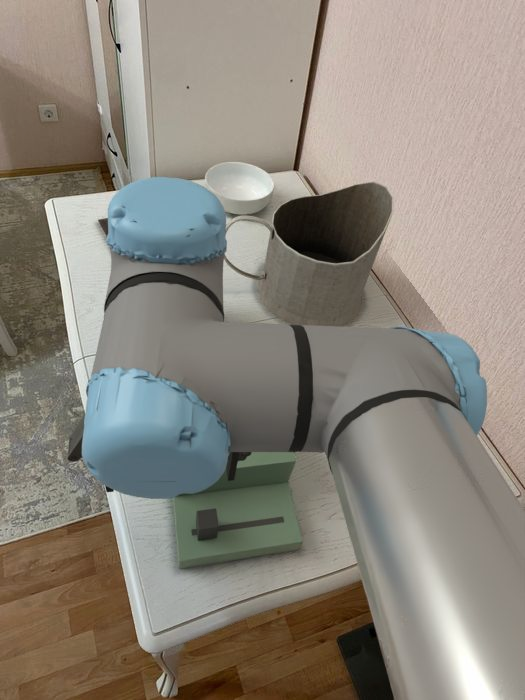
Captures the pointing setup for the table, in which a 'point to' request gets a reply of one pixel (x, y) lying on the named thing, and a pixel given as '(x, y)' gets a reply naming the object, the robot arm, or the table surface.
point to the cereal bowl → (240, 187)
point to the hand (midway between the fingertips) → (171, 475)
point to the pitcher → (322, 254)
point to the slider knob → (207, 524)
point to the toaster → (241, 513)
